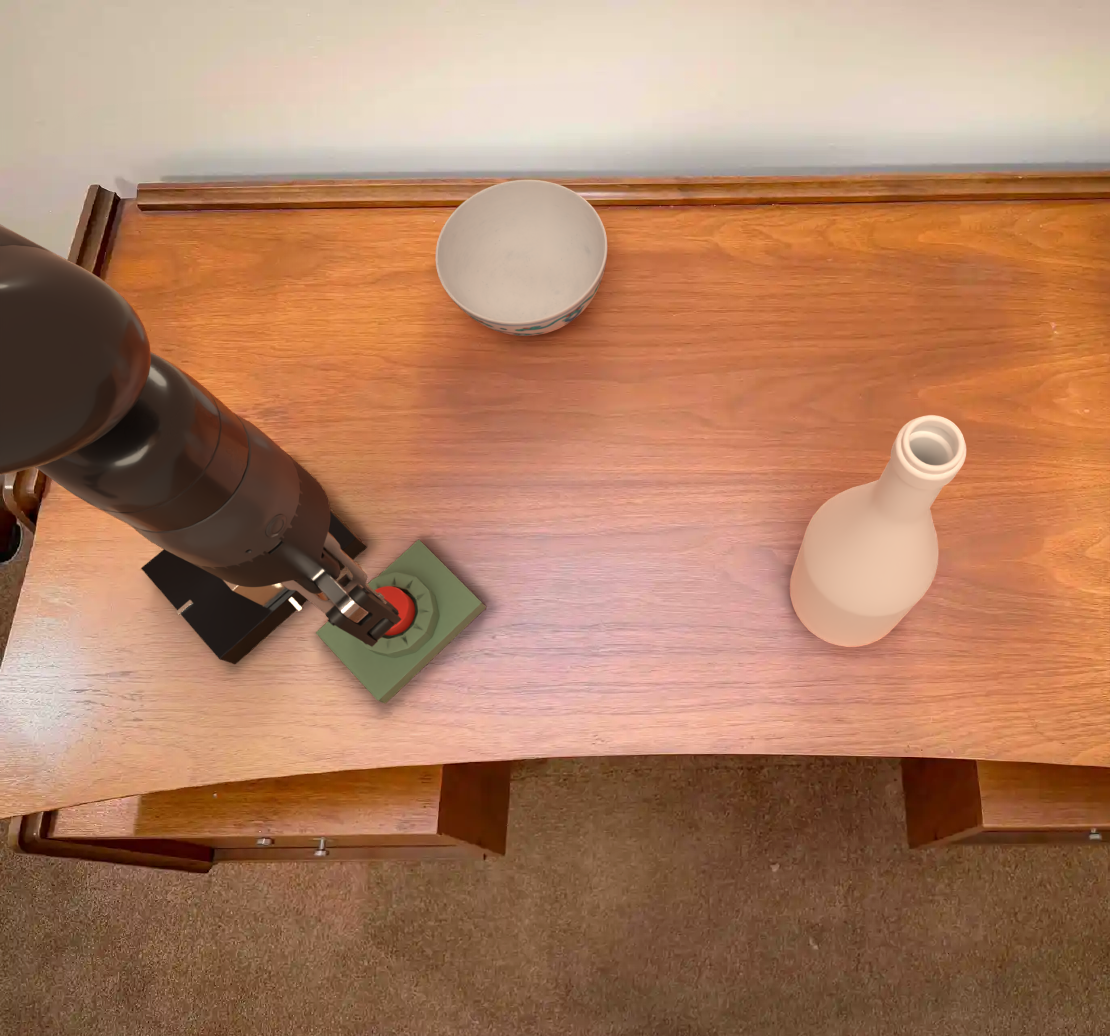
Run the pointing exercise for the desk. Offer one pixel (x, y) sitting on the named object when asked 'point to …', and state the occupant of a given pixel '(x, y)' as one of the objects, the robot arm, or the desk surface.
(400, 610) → the button
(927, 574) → the beige ceramic bottle
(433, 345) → the desk surface
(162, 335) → the desk surface
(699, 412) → the desk surface
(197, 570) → the black flat square plate
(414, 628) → the green rectangular block
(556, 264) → the chinaware
